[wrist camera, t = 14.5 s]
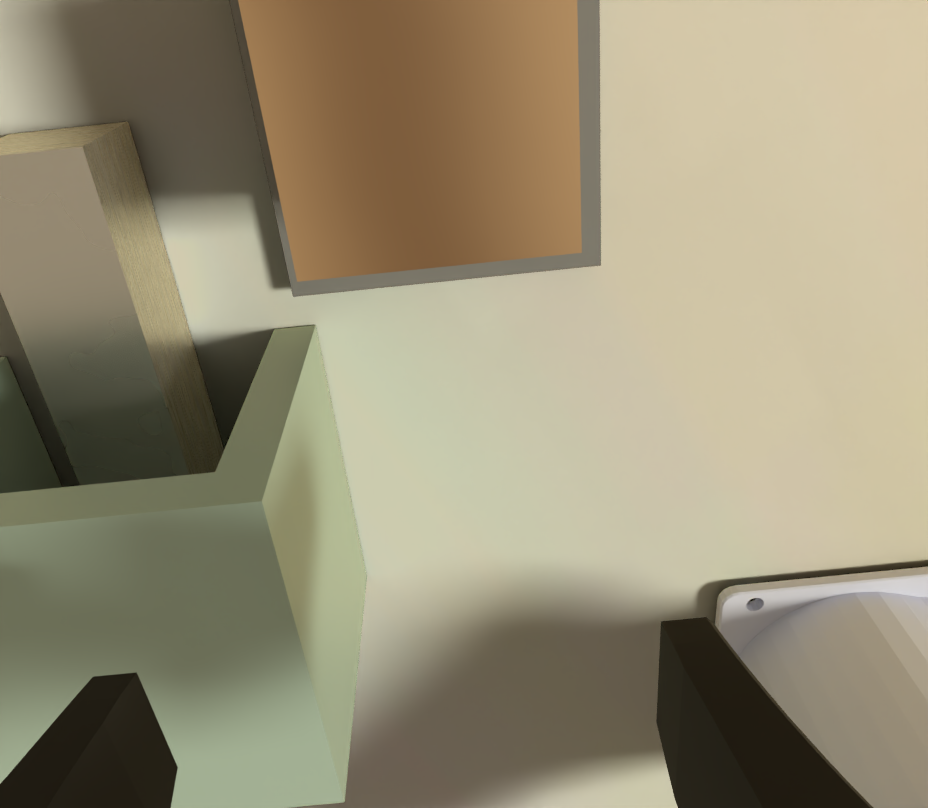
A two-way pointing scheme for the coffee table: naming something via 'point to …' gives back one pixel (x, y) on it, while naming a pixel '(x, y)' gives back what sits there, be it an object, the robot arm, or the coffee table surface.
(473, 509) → the coffee table surface
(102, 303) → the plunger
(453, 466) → the coffee table surface
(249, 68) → the slate coaster
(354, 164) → the walnut block
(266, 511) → the sleeve
